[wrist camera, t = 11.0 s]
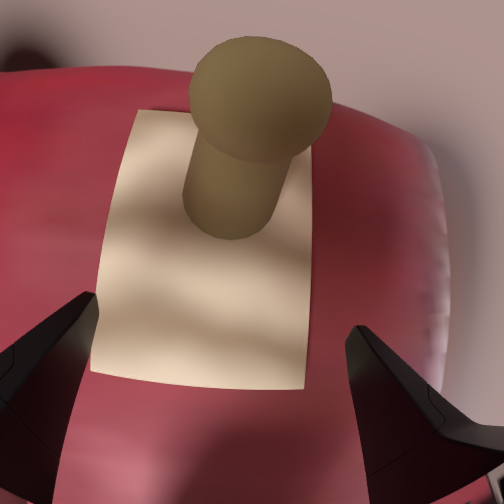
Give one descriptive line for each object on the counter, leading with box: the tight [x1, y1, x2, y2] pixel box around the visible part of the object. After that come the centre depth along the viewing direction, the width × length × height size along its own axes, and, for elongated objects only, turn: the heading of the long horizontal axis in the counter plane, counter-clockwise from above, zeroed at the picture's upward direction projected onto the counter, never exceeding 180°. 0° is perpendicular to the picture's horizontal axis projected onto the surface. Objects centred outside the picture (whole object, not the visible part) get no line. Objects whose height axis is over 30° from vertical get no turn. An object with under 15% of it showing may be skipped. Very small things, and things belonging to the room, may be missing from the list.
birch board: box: [91, 110, 312, 390], centre depth 18 cm, size 18×13×2 cm
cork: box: [182, 36, 333, 240], centre depth 13 cm, size 6×6×11 cm
